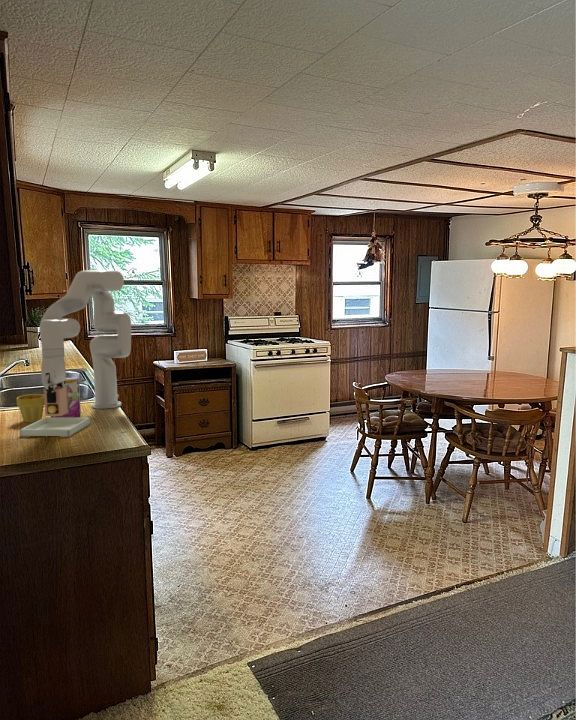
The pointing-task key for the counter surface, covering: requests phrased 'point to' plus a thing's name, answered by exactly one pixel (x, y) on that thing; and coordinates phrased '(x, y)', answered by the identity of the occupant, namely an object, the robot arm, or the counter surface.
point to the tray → (55, 427)
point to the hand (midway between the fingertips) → (56, 400)
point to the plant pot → (31, 407)
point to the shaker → (58, 401)
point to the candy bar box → (72, 398)
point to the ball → (52, 409)
